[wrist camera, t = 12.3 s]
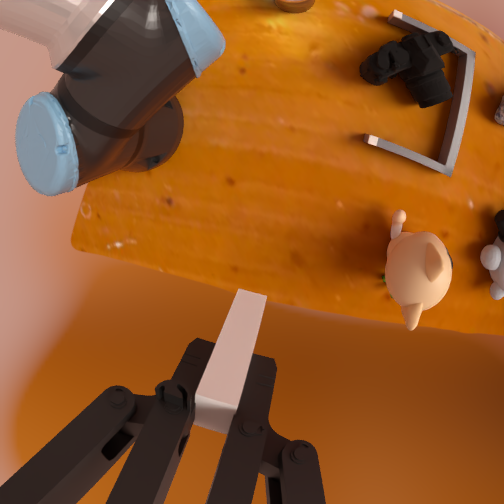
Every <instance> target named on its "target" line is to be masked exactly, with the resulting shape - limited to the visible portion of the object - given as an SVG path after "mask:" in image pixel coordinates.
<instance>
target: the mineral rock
mask: <svg viewBox="0 0 504 504" xmlns="http://www.w3.org/2000/svg"><path fill="white" fill-rule="evenodd" d="M494 119H495V121H496V122H497V123H499V124H500V125H501V124H502V125H503V126H504V95H503V97H502V101H501V103H500V106H499V107H498V108H497V110H496V113H495V116H494Z"/></svg>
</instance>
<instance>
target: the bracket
mask: <svg viewBox="0 0 504 504" xmlns="http://www.w3.org/2000/svg"><path fill="white" fill-rule="evenodd" d="M388 23H390V24H392V25H395V26H397V27H400V28H402V29H405V30H407V31H409V32H412V33H415V32H417V33H419V34H426V33H430V32H434V31H438V30H436V29H434V28H432V27H430V26H428V25H426V24H424V23H422V22H419V21H417V20H415V19H413V18H411V17H408V16H406V15H404V14H402V12H399V11H397V10H394V11H393V12H392V13H391V14H390V16H389V17H388ZM449 38H450V40H451V41H452V43H453V46H454V47H456V48H458V50H459V53H458V54H455V53H457V51H456V50H455V49H454V50H455V53H453V52H451V53H453V54H455V55H457V56H458V57H459V58H458V67H457V75H456V81H455V88H454V94H453V99H452V104H451V109H450V114H449V119H448V123H447V128H446V132H445V136H444V140H443V144H442V147H441V151H440V155H439V158H438V162H436V161H434V160H432V159H430V158H427V157H425V156H423V155H421V154H418V153H416V152H414V151H411V150H409V149H406V148H404V147H401V146H399V145H396V144H394V143H391V142H388V141H386V140H383V139H380V138H378V137H375V136H372V135H369V134H365V136H364V140H363V141H364V142H366V143H369V144H372V145H375V146H378V147H380V148H383V149H386V150H389V151H391V152H394V153H396V154H399V155H402V156H404V157H407V158H409V159H411V160H414V161H416V162H419V163H421V164H423V165H426V166H428V167H430V168H432V169H435V170H437V171H439V172H441V173H443V174H445V175H447V176H449V177H451V175H452V172H453V168H454V165H455V162H456V158H457V155H458V151H459V147H460V143H461V139H462V135H463V131H464V126H465V122H466V117H467V112H468V107H469V101H470V95H471V89H472V82H473V74H474V65H475V52H474V51H472V50H471V49H469V48H467V47H466V46H464V45H463V44H461V43H459V42H458V41H456V40H454V39H452V38H451V37H449Z"/></svg>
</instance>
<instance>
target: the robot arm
mask: <svg viewBox="0 0 504 504" xmlns="http://www.w3.org/2000/svg"><path fill="white" fill-rule="evenodd" d="M0 29H2V30H6V31H8V32H11V33H14V34H16V35H19V36H22V37H24V38H27V39H29V40H32V41H34V42H37V43H39V44H42V45H44V46H46V47H47V48H48V50H49V54H50V59H51V64H52V68H54V69H56V70H58V71H60V72H63V73H64V74H63V75H62V77H61V78H60V80H59V81H58V83H57V84H56V86H55V87H54V89H53V90H52V91H51V92H50V93H49V92H40V93H39V94H37V95H36V96H32V97H31V98H29V99H28V100H27V101H26V103H25V104H24V105H23V107H22V109H21V111H20V114H19V117H18V120H17V125H16V137H15V138H16V151H17V157H18V161H19V164H20V167H21V170H22V172H23V174H24V176H25V178H26V180H27V181H28V183H29V184H30V185H31V187H32V188H33V189H34V190H36V191H37V192H39V193H40V194H44V195H46V196H55V195H58V194H62V193H65V192H70V191H73V190H74V188H76V187H79V186H81V185H83V184H85V183H88V182H90V181H92V180H95V179H97V178H99V177H102V176H104V175H107V174H109V173H112V172H114V171H117V170H125V171H131V172H143V171H148V170H151V169H153V168H156V167H158V166H160V165H162V164H163V163H165V162H166V161H167V160H168V159H169V158H170V157H171V156H172V155H173V154H174V152H175V151H176V149H177V147H178V145H179V143H180V141H181V138H182V134H183V126H184V120H183V113H182V109H181V106H180V104H179V102H178V100H177V98H176V97H175V95H176V94H177V93H178V92H179V91H180V90H181V89H182V88H184V87H185V86H186V85H187V84H188V83H189V82H191V81H192V80H193V79H194V78H195V77H196V78H198V77H200V76H201V72H203V71H204V70H205V69H206V68H207V67H208V66H209V65H211V64H212V63H213V62H214V61H215V60H217V59H218V58H219V57H220V56H221V55H222V54H223V52H224V50H225V39H224V37H223V35H222V33H221V32H220V30H219V29H218V27H217V26H216V25H215V23H214V22H213V21H212V19H211V18H210V17H209V15H208V14H207V13H206V11H205V10H204V9H203V8H202V6H201V5H200V4H199V3H198V2H197V0H0ZM266 299H267V296H265V295H261V294H257V293H254V292H250V291H246V290H242V289H238V291H237V294H236V296H235V299H234V301H233V304H232V306H231V308H230V311H229V313H228V316H227V318H226V321H225V323H224V325H223V328H222V330H221V333H220V335H219V338H218V340H217V343H213V342H209V341H206V340H203V339H200V338H196V339H195V340H194V341H192V342H191V343H190V344H189V345H188V347H187V349H186V351H185V353H184V355H183V357H182V359H181V361H180V363H179V365H178V366H177V369H176V370H175V372H174V374H173V376H172V378H171V380H166V381H163V382H161V383H159V384H158V385H157V387H156V388H155V392H156V395H153V396H145V395H137V394H133V393H132V392H131V391H130V390H129V389H127V388H125V387H123V386H117V385H116V386H112V387H109V388H108V389H106V390H105V391H104V392H103V393H102V394H100V395H99V396H98V397H97V398H96V399H95V400H94V401H93V402H92V403H91V404H90V405H89V406H87V407H86V408H85V409H84V410H83V411H82V412H81V413H80V414H79V415H78V416H77V417H76V418H75V419H73V420H72V421H71V422H70V423H69V424H68V425H67V426H66V427H65V428H64V429H63V430H62V431H60V432H59V433H58V434H57V435H56V436H55V437H54V438H53V439H52V440H51V441H50V442H49V443H47V444H46V445H45V446H44V447H43V448H42V449H41V450H40V451H39V452H38V453H37V454H36V455H34V456H33V457H32V458H31V459H30V460H29V461H28V462H27V463H26V464H25V465H24V466H23V467H21V468H20V469H19V470H18V471H17V472H16V473H15V474H14V475H13V476H12V477H11V478H9V480H7V481H6V482H5V483H4V484H3V485H2V486H1V487H0V504H76V503H77V502H78V501H79V500H80V499H81V498H82V497H83V496H84V495H85V494H86V493H87V492H88V491H89V490H90V489H91V488H92V487H93V486H94V485H95V484H96V483H97V482H98V481H99V480H100V479H101V478H102V476H103V475H104V474H105V473H106V472H107V471H108V470H109V469H110V468H111V467H112V466H113V465H114V464H115V463H116V461H118V459H119V458H120V457H121V456H122V455H123V454H124V453H125V452H126V451H127V449H129V447H130V446H131V445H132V444H133V443H134V442H135V441H136V442H135V444H134V446H133V448H132V450H131V452H130V454H129V456H128V458H127V460H126V462H125V464H124V466H123V468H122V471H121V472H120V475H119V477H118V479H117V481H116V483H115V485H114V487H113V489H112V491H111V493H110V495H109V498H108V500H107V502H106V504H163V503H164V501H165V498H166V496H167V493H168V491H169V488H170V486H171V483H172V480H173V478H174V475H175V473H176V470H177V467H178V465H179V462H180V460H181V457H182V454H183V452H184V449H185V447H186V444H187V442H188V439H189V436H190V430H191V427H192V425H193V422H194V425H197V426H201V427H204V428H207V429H210V430H214V431H217V432H221V433H224V434H227V438H226V441H225V444H224V447H223V449H222V453H221V457H220V460H219V463H218V466H217V469H216V472H215V476H214V479H213V482H212V485H211V488H210V491H209V494H208V497H207V500H206V503H205V504H251V503H252V499H253V494H254V490H255V486H256V482H257V477H258V473H261V474H263V475H265V483H266V495H267V504H326V502H325V496H324V490H323V484H322V478H321V472H320V467H319V461H318V455H317V452H316V449H315V447H313V445H312V444H311V443H309V442H307V441H304V440H294V441H290V440H288V439H286V438H284V437H282V436H280V435H279V434H277V433H276V432H275V431H274V430H273V429H272V428H271V426H270V424H269V420H268V415H269V410H270V404H271V399H272V394H273V388H274V383H275V378H276V372H277V367H276V364H275V361H274V359H273V358H269V357H265V356H261V355H257V354H253V349H254V346H255V342H256V338H257V334H258V330H259V327H260V323H261V319H262V315H263V311H264V307H265V303H266Z"/></svg>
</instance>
